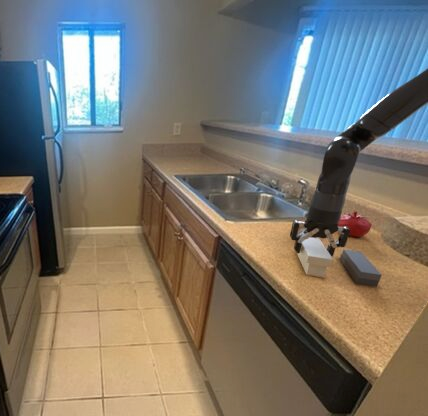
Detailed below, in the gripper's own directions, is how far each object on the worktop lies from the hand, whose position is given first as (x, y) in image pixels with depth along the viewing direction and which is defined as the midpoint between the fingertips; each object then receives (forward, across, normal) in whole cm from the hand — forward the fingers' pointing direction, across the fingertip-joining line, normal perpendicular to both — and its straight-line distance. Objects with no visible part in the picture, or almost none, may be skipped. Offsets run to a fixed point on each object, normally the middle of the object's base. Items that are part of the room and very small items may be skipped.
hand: (312, 254), depth 86 cm
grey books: (+4, +12, 0) cm, 13 cm away
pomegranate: (+4, +20, +31) cm, 37 cm away
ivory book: (0, 0, 0) cm, 0 cm away
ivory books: (+4, 0, 0) cm, 4 cm away
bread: (+4, +2, +20) cm, 20 cm away
